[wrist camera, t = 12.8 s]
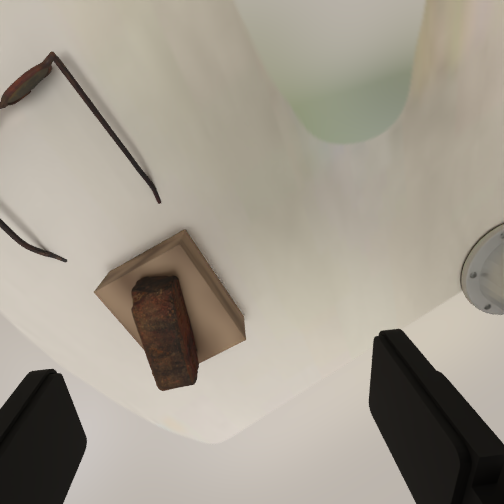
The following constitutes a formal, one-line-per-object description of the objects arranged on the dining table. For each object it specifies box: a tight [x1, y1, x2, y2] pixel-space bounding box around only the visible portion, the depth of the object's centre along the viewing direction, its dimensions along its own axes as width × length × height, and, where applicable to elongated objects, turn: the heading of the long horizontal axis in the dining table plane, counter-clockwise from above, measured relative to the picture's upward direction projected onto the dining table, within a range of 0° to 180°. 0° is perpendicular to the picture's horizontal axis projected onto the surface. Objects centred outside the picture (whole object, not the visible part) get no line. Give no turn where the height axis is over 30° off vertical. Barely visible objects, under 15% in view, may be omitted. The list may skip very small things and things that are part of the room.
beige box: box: [94, 230, 246, 363], centre depth 36 cm, size 10×13×5 cm
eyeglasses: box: [0, 52, 161, 262], centre depth 30 cm, size 15×15×5 cm
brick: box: [131, 275, 199, 391], centre depth 32 cm, size 11×4×5 cm, turn 9°
